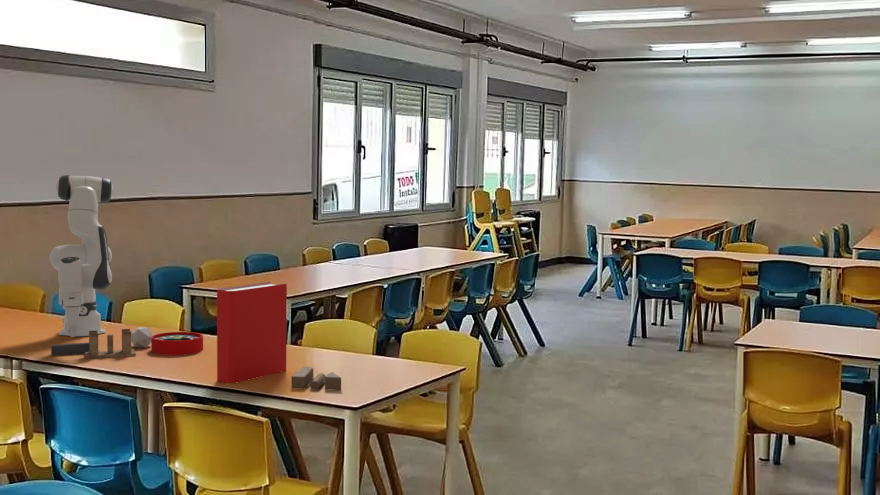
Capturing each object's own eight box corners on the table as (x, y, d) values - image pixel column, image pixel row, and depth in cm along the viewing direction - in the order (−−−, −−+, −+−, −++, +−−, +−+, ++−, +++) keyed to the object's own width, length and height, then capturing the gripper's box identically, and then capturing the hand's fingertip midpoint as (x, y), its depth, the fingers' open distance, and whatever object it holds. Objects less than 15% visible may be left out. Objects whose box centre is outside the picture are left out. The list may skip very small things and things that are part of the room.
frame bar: (51, 355, 363) (51, 344, 363) (89, 352, 369) (89, 342, 369) (51, 356, 361) (51, 345, 360) (90, 353, 367) (90, 343, 367)
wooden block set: (290, 374, 315) (302, 362, 333) (290, 390, 315) (302, 378, 333) (340, 375, 314) (349, 364, 331) (340, 392, 314) (349, 380, 332)
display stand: (85, 354, 363) (84, 330, 362) (133, 351, 370) (133, 328, 370) (86, 358, 356) (85, 334, 355) (135, 355, 363) (135, 331, 362)
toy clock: (204, 339, 369) (151, 341, 363) (204, 354, 369) (151, 356, 363) (201, 330, 388) (150, 332, 382) (201, 344, 388) (151, 346, 382)
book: (270, 367, 347) (270, 281, 345) (286, 370, 343) (286, 283, 340) (214, 381, 325) (214, 289, 322) (231, 384, 320) (231, 291, 317)
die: (137, 351, 375) (153, 331, 377) (122, 339, 377) (137, 319, 379) (146, 354, 383) (160, 335, 385) (130, 343, 385) (145, 323, 387)
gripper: (61, 296, 371) (62, 331, 372) (63, 302, 352) (64, 339, 353) (78, 295, 374) (79, 330, 375) (81, 302, 355) (82, 338, 356)
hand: (71, 334), depth 364 cm, fingers open, 8 cm apart
